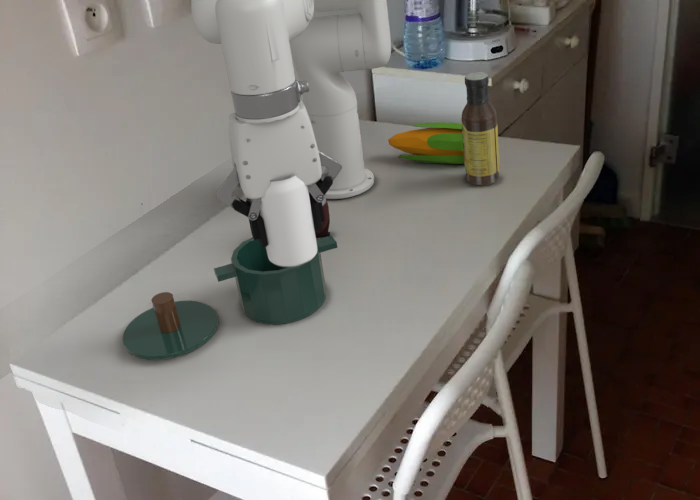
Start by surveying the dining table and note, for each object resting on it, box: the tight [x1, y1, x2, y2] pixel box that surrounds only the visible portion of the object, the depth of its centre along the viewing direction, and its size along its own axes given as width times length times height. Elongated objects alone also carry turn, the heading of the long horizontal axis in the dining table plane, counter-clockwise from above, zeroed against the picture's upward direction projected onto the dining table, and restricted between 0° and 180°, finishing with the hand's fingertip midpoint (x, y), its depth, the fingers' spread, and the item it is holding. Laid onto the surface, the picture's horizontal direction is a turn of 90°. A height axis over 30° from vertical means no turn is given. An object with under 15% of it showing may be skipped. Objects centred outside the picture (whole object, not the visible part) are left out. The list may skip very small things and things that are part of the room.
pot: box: [213, 235, 338, 325], centre depth 118 cm, size 13×18×8 cm
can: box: [259, 174, 317, 267], centre depth 100 cm, size 6×6×12 cm
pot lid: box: [122, 291, 219, 361], centre depth 114 cm, size 14×14×6 cm
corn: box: [387, 121, 465, 165], centre depth 156 cm, size 7×8×20 cm
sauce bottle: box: [461, 71, 501, 186], centre depth 143 cm, size 6×6×20 cm
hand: (289, 234), depth 102 cm, fingers closed on can, 6 cm apart
